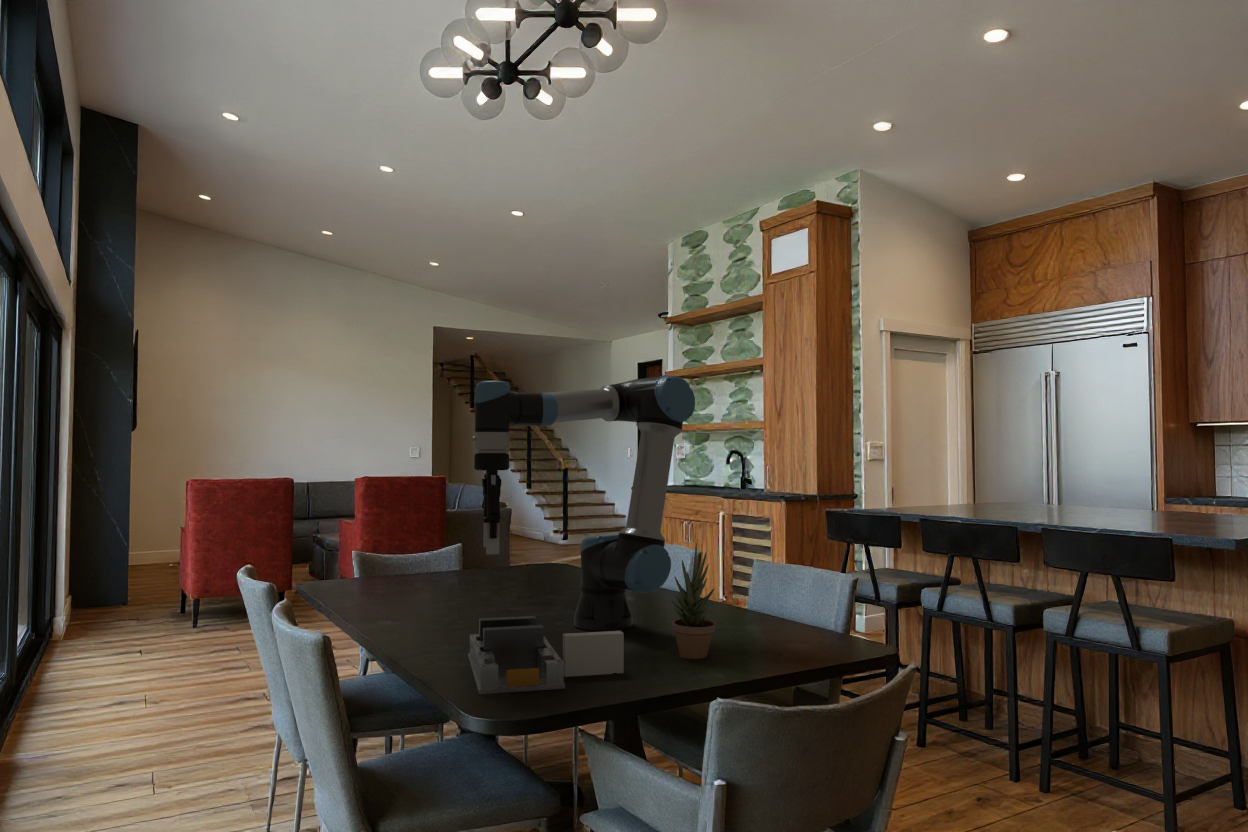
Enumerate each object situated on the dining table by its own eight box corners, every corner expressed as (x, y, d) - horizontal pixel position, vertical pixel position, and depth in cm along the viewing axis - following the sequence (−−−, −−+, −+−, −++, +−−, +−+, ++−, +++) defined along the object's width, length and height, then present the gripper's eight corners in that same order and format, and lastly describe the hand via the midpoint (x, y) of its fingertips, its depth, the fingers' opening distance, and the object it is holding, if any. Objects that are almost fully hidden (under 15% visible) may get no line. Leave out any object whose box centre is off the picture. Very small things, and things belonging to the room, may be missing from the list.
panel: (562, 673, 167) (562, 633, 168) (620, 670, 170) (620, 630, 171) (564, 677, 165) (565, 636, 165) (623, 673, 168) (623, 633, 168)
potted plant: (720, 660, 178) (720, 544, 179) (677, 662, 177) (677, 545, 178) (708, 649, 188) (708, 539, 189) (667, 650, 186) (667, 540, 188)
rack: (468, 656, 181) (468, 615, 181) (541, 652, 185) (541, 612, 185) (479, 695, 152) (479, 646, 152) (565, 689, 156) (565, 641, 156)
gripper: (472, 452, 192) (471, 544, 191) (476, 452, 168) (475, 557, 167) (505, 452, 194) (504, 543, 193) (513, 452, 169) (512, 557, 168)
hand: (491, 550), depth 180 cm, fingers open, 13 cm apart
